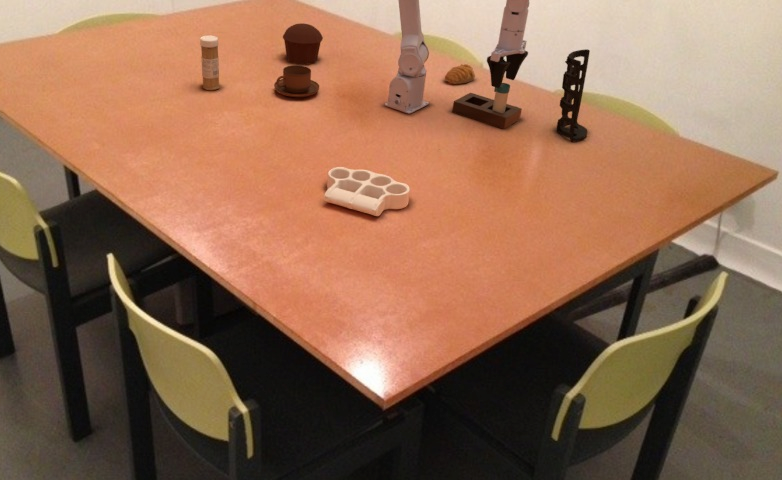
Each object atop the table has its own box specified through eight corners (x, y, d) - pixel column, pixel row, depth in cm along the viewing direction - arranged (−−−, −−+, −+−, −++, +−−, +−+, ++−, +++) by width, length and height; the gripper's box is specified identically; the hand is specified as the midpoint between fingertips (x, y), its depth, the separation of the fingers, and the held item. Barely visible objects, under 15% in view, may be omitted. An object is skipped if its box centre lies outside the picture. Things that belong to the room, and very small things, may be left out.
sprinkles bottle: (213, 83, 208) (212, 33, 200) (223, 88, 205) (221, 38, 198) (199, 86, 206) (196, 36, 198) (208, 92, 203) (206, 41, 195)
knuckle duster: (309, 201, 157) (340, 173, 168) (390, 225, 151) (417, 194, 162) (310, 187, 156) (341, 159, 167) (392, 210, 150) (419, 180, 161)
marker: (499, 123, 196) (506, 88, 191) (486, 118, 198) (492, 84, 193) (506, 119, 198) (512, 85, 193) (492, 115, 200) (499, 81, 195)
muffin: (276, 62, 224) (277, 27, 219) (289, 50, 233) (290, 17, 228) (315, 68, 222) (316, 33, 216) (327, 56, 231) (328, 23, 225)
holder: (588, 143, 188) (600, 62, 177) (556, 142, 189) (566, 61, 179) (585, 126, 197) (596, 48, 186) (555, 125, 198) (564, 47, 188)
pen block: (503, 129, 193) (506, 118, 191) (452, 112, 201) (453, 101, 199) (519, 119, 199) (522, 108, 197) (468, 103, 206) (470, 92, 205)
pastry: (458, 87, 215) (459, 74, 213) (438, 81, 219) (439, 68, 217) (476, 79, 221) (478, 66, 219) (456, 73, 225) (458, 60, 223)
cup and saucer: (299, 104, 199) (300, 81, 195) (264, 92, 205) (264, 69, 201) (328, 92, 207) (329, 70, 204) (293, 81, 213) (294, 59, 209)
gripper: (513, 38, 179) (503, 94, 186) (541, 25, 188) (530, 79, 196) (486, 31, 182) (477, 86, 190) (515, 19, 192) (505, 72, 199)
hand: (502, 82), depth 193 cm, fingers open, 7 cm apart
